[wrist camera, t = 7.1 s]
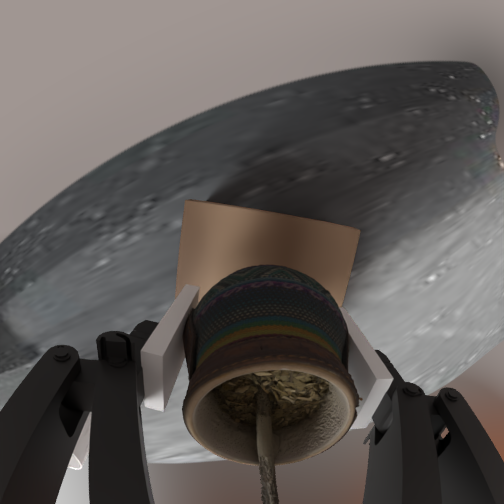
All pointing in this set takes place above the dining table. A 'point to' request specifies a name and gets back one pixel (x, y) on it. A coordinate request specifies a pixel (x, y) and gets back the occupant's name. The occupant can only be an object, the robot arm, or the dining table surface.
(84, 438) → the white cup
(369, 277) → the dining table surface
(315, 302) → the mate gourd
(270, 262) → the walnut stool
